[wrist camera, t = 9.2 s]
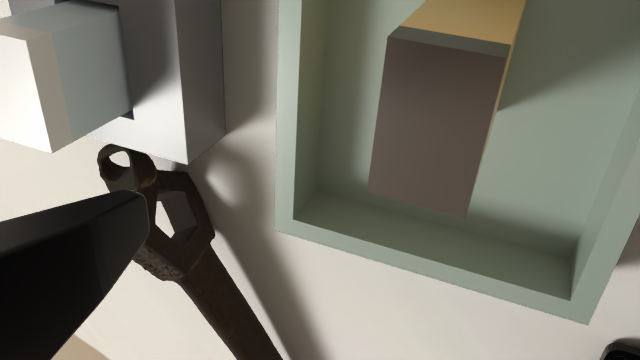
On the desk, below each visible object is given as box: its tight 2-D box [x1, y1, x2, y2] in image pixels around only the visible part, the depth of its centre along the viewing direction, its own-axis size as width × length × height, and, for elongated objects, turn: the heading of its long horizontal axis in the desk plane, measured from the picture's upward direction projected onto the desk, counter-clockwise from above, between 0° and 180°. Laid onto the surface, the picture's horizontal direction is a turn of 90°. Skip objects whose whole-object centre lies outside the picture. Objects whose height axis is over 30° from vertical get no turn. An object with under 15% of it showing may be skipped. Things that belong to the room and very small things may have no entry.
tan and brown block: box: [367, 0, 526, 218], centre depth 15 cm, size 2×4×7 cm, turn 177°
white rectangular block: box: [0, 0, 133, 153], centre depth 21 cm, size 2×4×7 cm, turn 177°
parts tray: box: [274, 0, 640, 325], centre depth 17 cm, size 12×16×3 cm
